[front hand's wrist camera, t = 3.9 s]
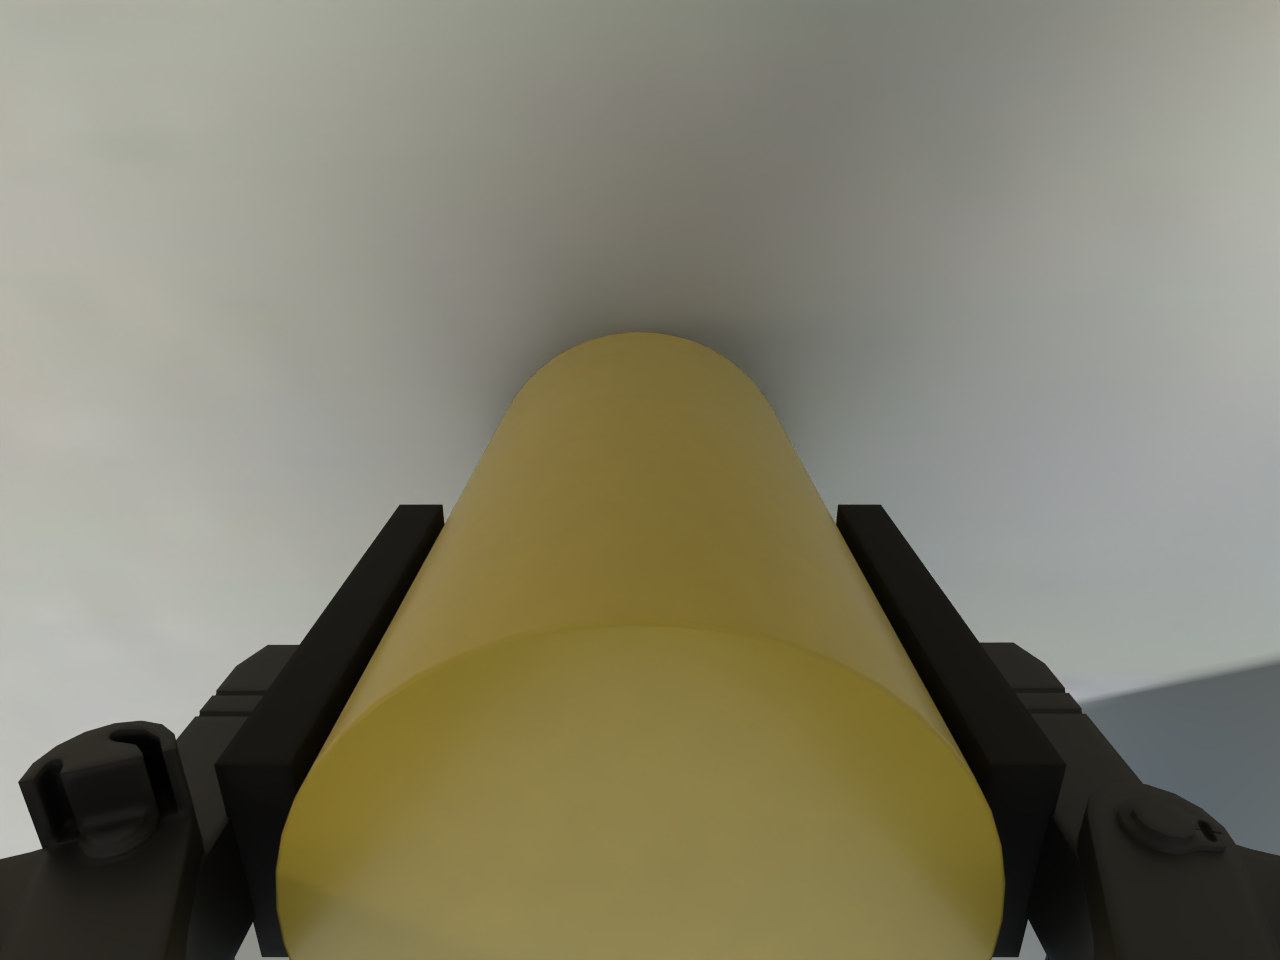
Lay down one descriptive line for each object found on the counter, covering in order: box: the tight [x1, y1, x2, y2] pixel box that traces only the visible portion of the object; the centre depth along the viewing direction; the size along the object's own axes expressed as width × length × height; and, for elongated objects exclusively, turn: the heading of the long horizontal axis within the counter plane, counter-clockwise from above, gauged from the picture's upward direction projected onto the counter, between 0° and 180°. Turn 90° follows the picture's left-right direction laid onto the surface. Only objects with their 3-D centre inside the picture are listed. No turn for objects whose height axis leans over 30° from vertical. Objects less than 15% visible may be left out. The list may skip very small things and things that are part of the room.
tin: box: [276, 332, 1005, 960], centre depth 13 cm, size 7×7×12 cm
